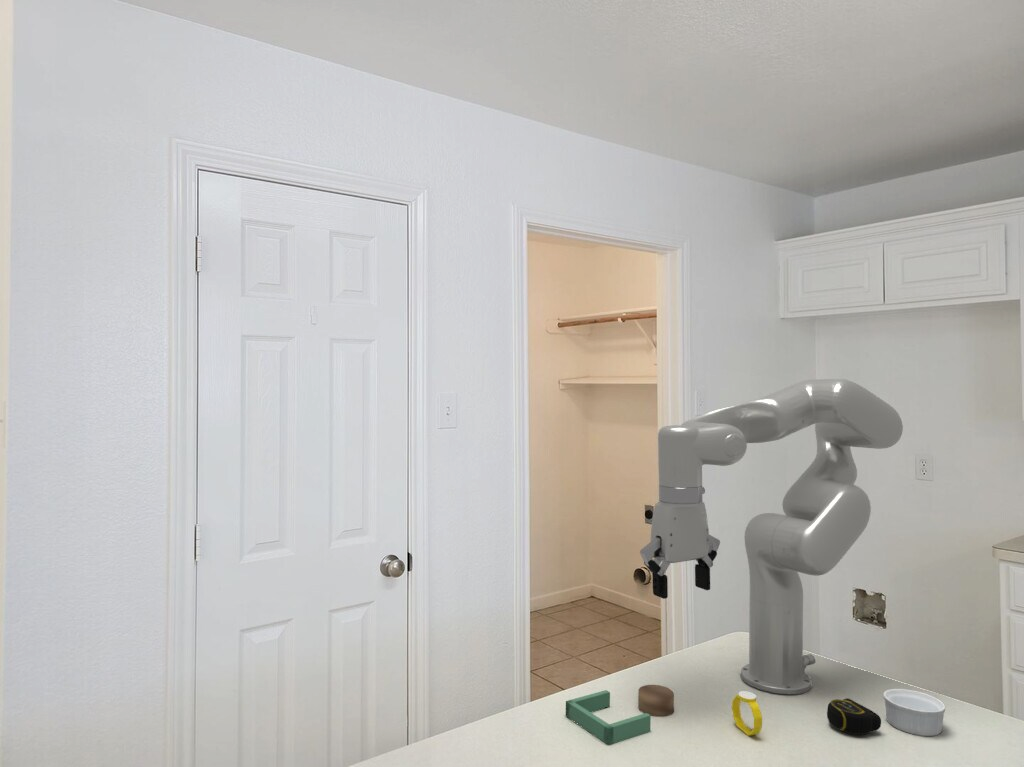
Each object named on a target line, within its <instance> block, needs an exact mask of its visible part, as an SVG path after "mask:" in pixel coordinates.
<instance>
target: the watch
mask: <svg viewBox="0 0 1024 767" xmlns="http://www.w3.org/2000/svg"><path fill="white" fill-rule="evenodd" d="M757 699H758V698H757V695H756V694H755V693H753V692H752V691H746V690H741V691H739V692H738V694H736V695H735V696H734V697H733V699H732V703H731V712H732V717H733V720H734V724H735V725H736V728H738V729H739V730H741V731H742V732H743V733H744V734H745V735H747V736H748V737H749V736H750V737H751V736H756V735H758V734H760V732H761V730H762V727H763V718H762V717H763V716H762V713H761V712H762V711H761V708H760V705H759V704H758V703H757ZM741 702H743V703H747V704H748V705H749V708H750V710H751V712H752V717H753V728H752V729H751V728H750V727H748V726H747V724H745V722H744V720H743V718H742V713H741V709H740V707H741Z"/></svg>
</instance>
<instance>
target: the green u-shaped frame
mask: <svg viewBox="0 0 1024 767" xmlns="http://www.w3.org/2000/svg"><path fill="white" fill-rule="evenodd" d="M609 706H610V707H611V692H610V690H607V689H605V690H601V691H599V692H594V693H590V694H587V695H583V696H581V697H580V696H579V697H576V698H573V699H568V700H565V717H566V716H567V717H566V718H568V717H569V718H570V719H571V720H570V719H569V718H568V719H569V720H570V721H572V720H573V721H575V722H576V723H578V724H579V725H580V726H579V725H578V724H577V725H578V726H579V727H581V726H582V727H584V728H585V729H586V731H587V732H588V731H589V732H588V733H590V732H591V733H592V734H591V733H590V734H591V735H593V736H594V735H595V737H596V738H597V739H599V740H600V741H602V742H603V743H604V744H606V745H608V746H609V745H613V744H615V743H619V742H622V741H624V740H627V739H630V738H634V737H637V736H639V735H643V734H645V733H649V732H651V723H652V722H651V717H652V716H651V715H649V714H647V713H642V714H638V715H634V716H632V717H628V718H626V719H621V720H620V721H616V722H612V723H608V722H606V720H603V719H601V718H600V717H599V716H597V715H595V714H593V712H592V711H594V712H596V711H595V710H597V711H600V710H603V709H602V708H604V709H606V708H605V707H607V708H609ZM599 709H600V710H599ZM573 721H572V722H573ZM575 722H574V723H575ZM576 723H575V724H576ZM582 727H581V728H582ZM584 728H583V729H584ZM585 729H584V730H585Z"/></svg>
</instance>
